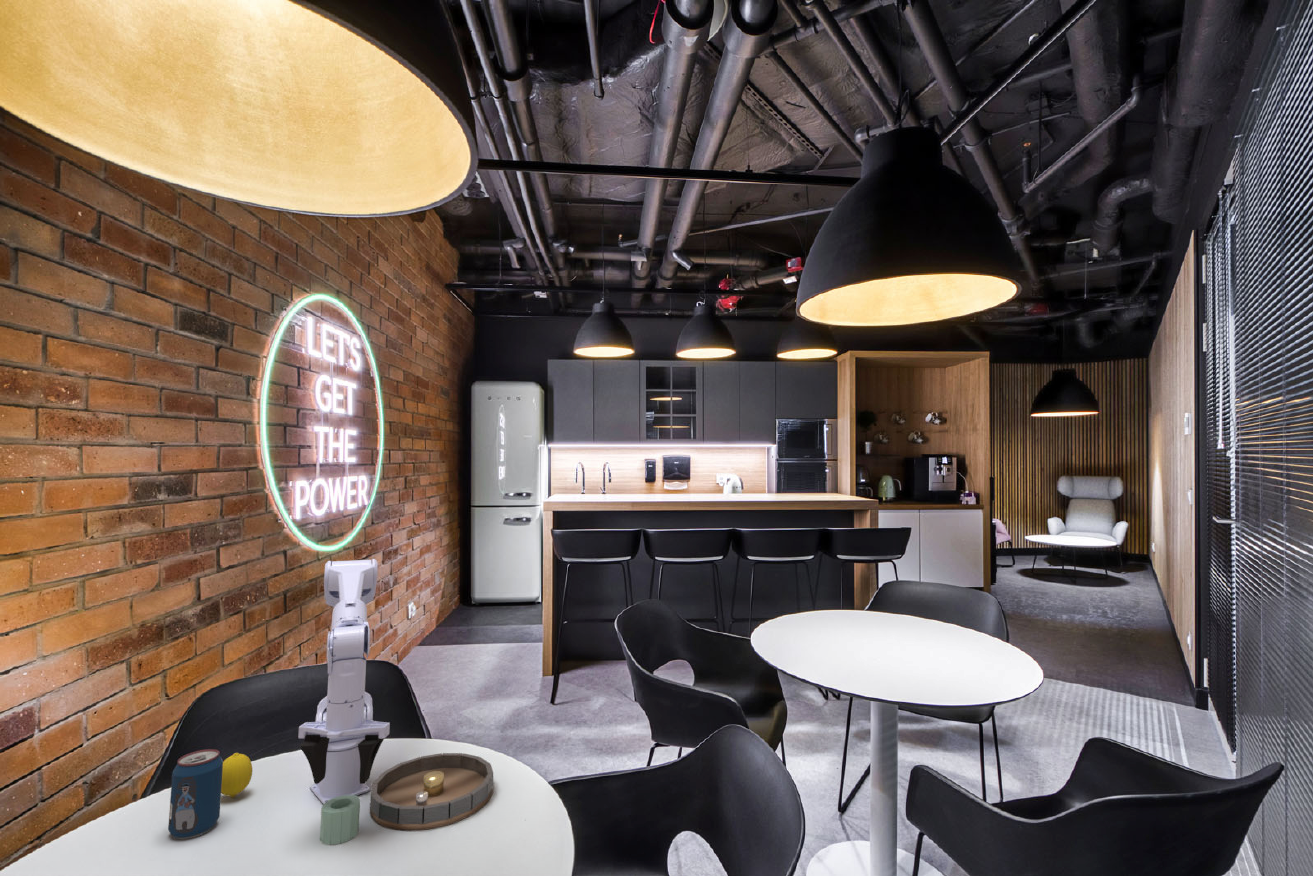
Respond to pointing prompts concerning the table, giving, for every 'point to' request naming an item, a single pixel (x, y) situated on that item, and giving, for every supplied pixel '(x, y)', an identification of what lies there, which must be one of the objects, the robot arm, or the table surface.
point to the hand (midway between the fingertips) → (342, 781)
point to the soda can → (195, 794)
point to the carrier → (431, 791)
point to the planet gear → (339, 819)
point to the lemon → (236, 774)
